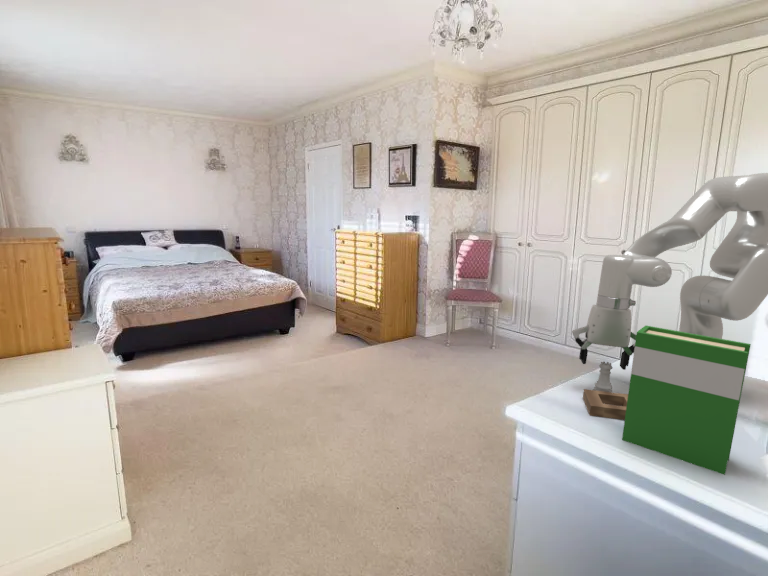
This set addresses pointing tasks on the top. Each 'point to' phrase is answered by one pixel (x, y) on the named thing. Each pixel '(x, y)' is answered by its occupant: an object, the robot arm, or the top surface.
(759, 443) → the top surface
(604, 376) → the rook chess piece
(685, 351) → the hardback book
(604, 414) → the socket board
